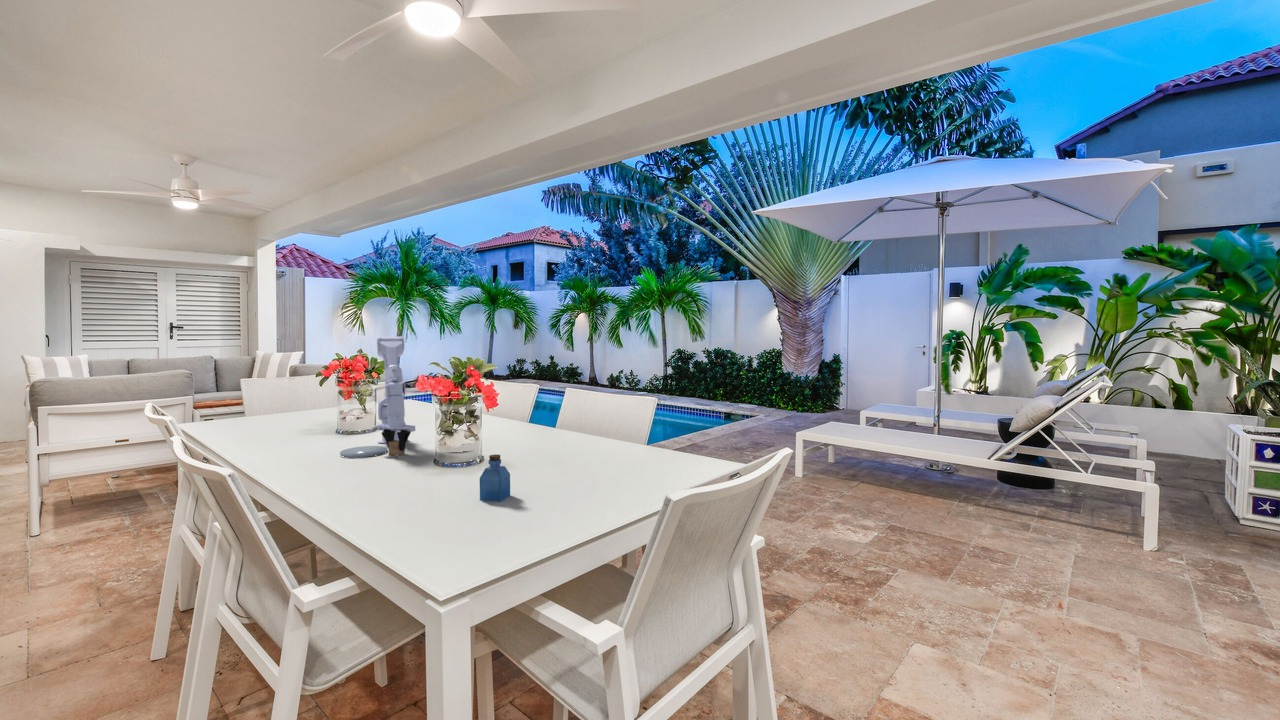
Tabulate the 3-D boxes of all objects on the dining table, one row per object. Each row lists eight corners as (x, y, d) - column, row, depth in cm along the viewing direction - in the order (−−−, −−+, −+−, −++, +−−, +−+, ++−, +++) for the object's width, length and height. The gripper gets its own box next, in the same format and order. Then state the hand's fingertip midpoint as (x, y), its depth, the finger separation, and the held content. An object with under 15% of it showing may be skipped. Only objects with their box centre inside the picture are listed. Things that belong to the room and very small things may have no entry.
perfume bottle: (500, 502, 154) (500, 458, 153) (479, 500, 155) (479, 457, 154) (510, 495, 160) (509, 453, 159) (490, 493, 161) (489, 452, 160)
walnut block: (395, 452, 212) (394, 439, 211) (404, 453, 211) (404, 440, 211) (388, 455, 208) (388, 441, 207) (398, 455, 207) (398, 442, 207)
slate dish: (359, 447, 220) (359, 445, 220) (396, 449, 217) (396, 446, 217) (329, 456, 204) (329, 454, 204) (369, 459, 201) (369, 456, 201)
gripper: (371, 414, 206) (372, 451, 207) (407, 416, 203) (408, 453, 204) (383, 411, 213) (384, 447, 214) (418, 413, 210) (419, 448, 211)
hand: (396, 449), depth 209 cm, fingers closed on walnut block, 4 cm apart
